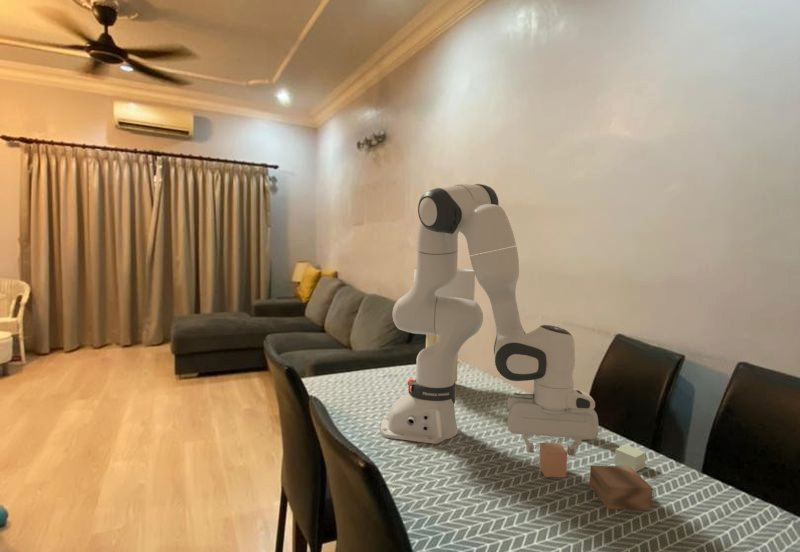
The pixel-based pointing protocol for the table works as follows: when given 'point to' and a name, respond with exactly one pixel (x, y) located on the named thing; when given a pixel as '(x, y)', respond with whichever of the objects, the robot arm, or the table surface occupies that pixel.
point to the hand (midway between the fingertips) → (550, 453)
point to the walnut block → (620, 488)
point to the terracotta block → (553, 459)
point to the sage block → (630, 457)
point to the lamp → (457, 289)
